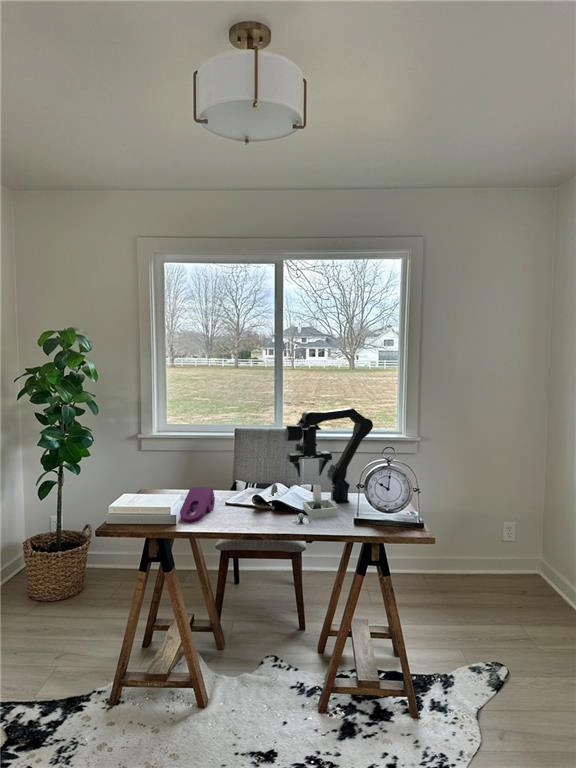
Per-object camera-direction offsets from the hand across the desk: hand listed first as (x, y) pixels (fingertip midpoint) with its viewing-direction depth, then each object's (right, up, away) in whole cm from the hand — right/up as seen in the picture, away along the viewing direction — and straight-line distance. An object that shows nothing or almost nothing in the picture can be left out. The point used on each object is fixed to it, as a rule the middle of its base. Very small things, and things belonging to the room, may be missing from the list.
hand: (309, 476), depth 211 cm
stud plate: (-4, -14, -24) cm, 28 cm away
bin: (+4, -13, -13) cm, 19 cm away
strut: (+3, -13, -15) cm, 20 cm away
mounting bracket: (-46, -14, -12) cm, 50 cm away
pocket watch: (-17, -12, +5) cm, 22 cm away
